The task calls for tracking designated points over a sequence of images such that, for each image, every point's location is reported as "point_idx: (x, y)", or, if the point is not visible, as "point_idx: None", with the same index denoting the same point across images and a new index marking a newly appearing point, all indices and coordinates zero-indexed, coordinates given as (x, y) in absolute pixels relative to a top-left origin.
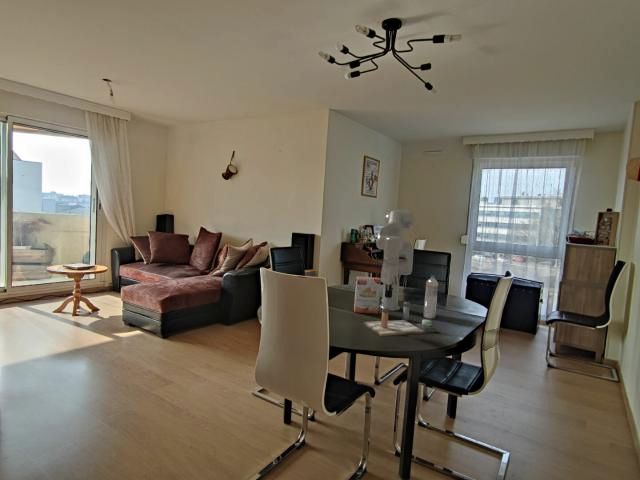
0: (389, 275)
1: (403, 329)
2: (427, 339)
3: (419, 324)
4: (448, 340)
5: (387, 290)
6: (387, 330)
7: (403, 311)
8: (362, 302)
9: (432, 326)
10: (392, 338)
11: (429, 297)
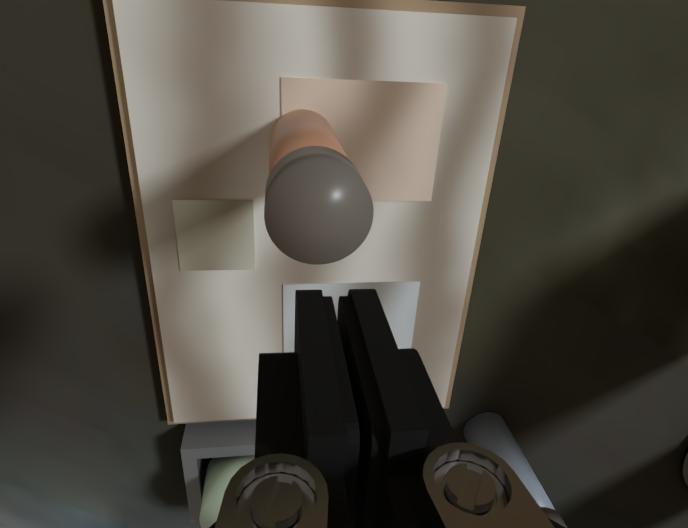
0: None
1: (218, 293)
2: (21, 372)
3: None
4: (10, 488)
5: (307, 447)
6: (200, 123)
7: (521, 466)
8: None
9: None
10: (26, 78)
11: None
